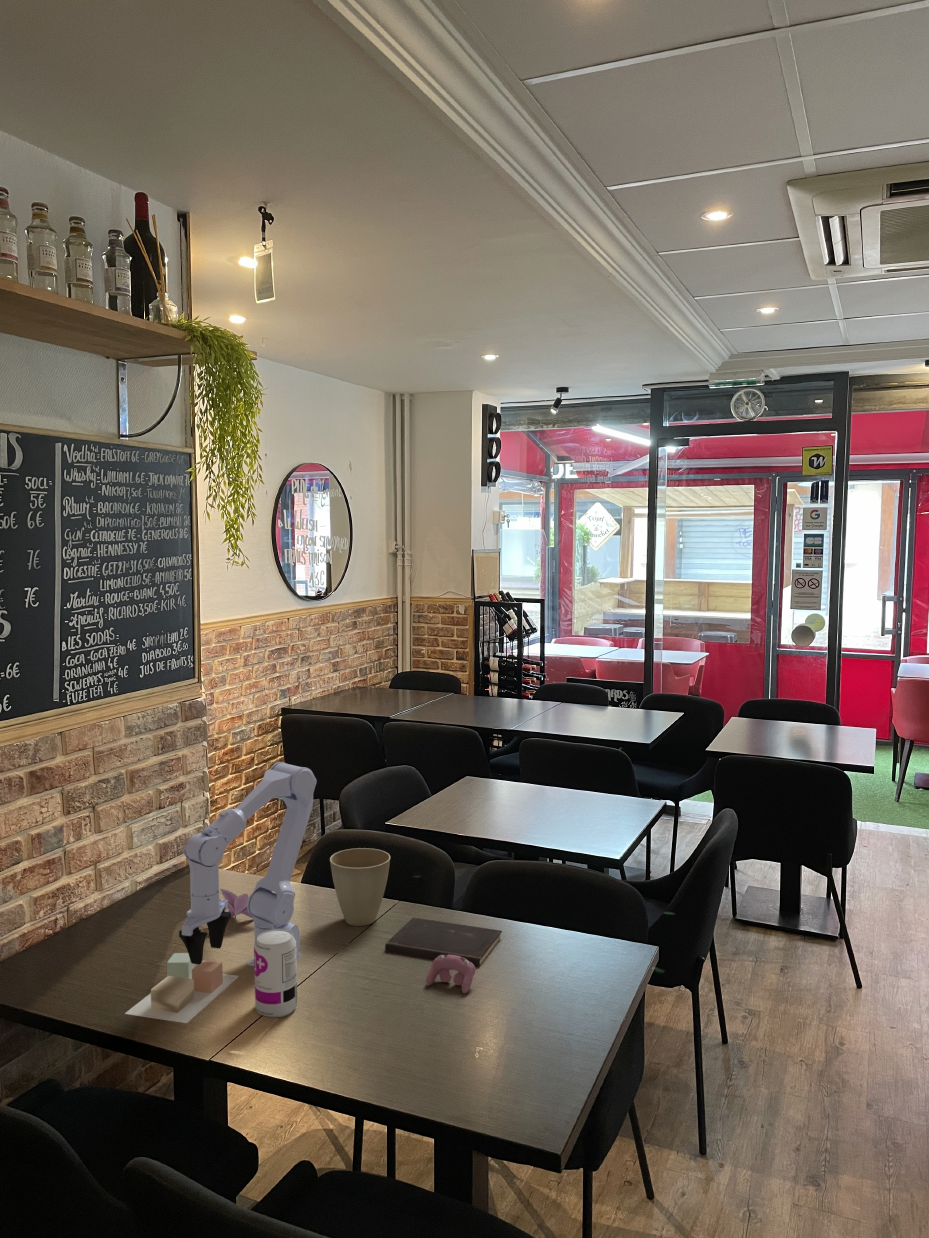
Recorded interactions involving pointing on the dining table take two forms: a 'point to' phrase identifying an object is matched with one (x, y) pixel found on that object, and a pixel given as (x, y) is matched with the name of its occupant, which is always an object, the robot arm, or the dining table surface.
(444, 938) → the hardcover book
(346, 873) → the plant pot
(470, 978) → the video game controller
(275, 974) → the supplement can
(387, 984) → the dining table surface
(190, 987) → the birch base block
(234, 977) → the mat
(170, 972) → the sage block
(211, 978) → the terracotta block
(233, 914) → the lily
